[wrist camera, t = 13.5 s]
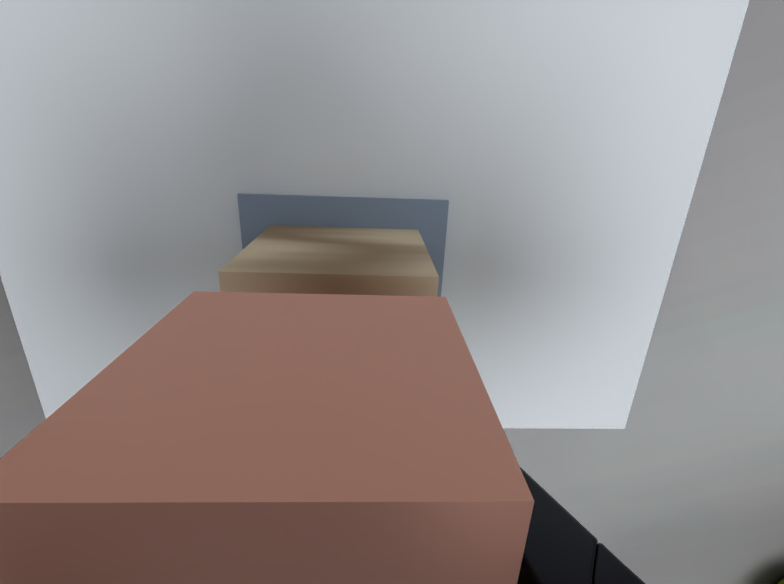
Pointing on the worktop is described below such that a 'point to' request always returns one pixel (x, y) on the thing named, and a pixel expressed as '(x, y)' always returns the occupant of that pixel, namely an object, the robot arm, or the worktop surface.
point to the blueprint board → (361, 167)
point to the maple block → (333, 262)
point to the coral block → (273, 454)
